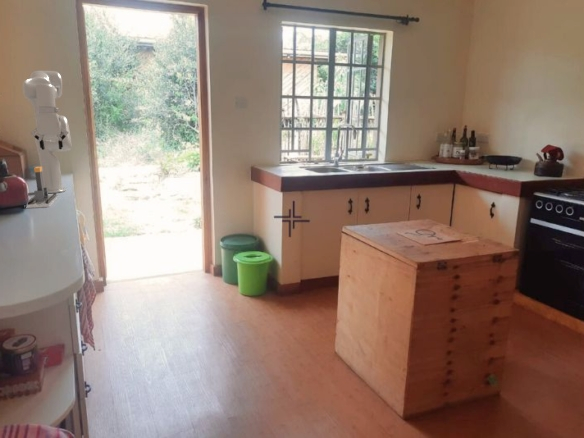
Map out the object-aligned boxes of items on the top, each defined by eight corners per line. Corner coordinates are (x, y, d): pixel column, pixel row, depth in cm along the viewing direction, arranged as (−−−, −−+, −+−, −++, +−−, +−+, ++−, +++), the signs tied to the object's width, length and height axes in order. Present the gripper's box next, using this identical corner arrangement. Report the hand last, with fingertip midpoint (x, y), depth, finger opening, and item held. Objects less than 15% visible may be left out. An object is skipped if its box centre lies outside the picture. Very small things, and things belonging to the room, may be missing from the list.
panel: (36, 199, 230) (34, 185, 228) (58, 197, 233) (56, 184, 231) (25, 208, 208) (23, 193, 206) (49, 206, 211) (47, 192, 209)
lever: (40, 193, 222) (36, 166, 219) (45, 193, 223) (42, 166, 220) (37, 196, 216) (33, 168, 213) (43, 195, 217) (39, 167, 214)
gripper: (68, 111, 218) (72, 148, 222) (28, 111, 213) (33, 149, 217) (66, 111, 211) (70, 149, 216) (24, 111, 206) (29, 150, 210)
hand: (51, 149), depth 216 cm, fingers open, 6 cm apart
